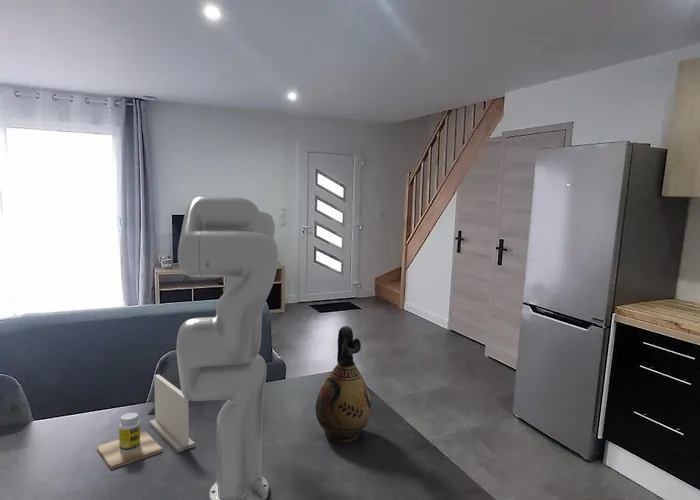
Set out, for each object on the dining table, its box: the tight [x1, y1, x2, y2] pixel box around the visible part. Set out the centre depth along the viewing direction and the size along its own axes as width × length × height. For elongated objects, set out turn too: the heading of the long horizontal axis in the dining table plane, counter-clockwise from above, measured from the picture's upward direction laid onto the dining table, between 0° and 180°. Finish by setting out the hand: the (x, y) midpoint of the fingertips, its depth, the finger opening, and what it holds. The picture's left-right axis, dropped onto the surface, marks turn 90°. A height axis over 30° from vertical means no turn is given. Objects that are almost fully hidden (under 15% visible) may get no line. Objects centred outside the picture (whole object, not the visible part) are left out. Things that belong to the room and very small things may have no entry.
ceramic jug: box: [315, 325, 373, 445], centre depth 125 cm, size 17×15×30 cm
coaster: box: [96, 430, 163, 470], centre depth 115 cm, size 12×12×1 cm
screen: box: [148, 373, 196, 453], centre depth 123 cm, size 20×4×14 cm, turn 43°
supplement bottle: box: [118, 412, 141, 452], centre depth 115 cm, size 5×5×8 cm
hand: (239, 321), depth 127 cm, fingers open, 9 cm apart
